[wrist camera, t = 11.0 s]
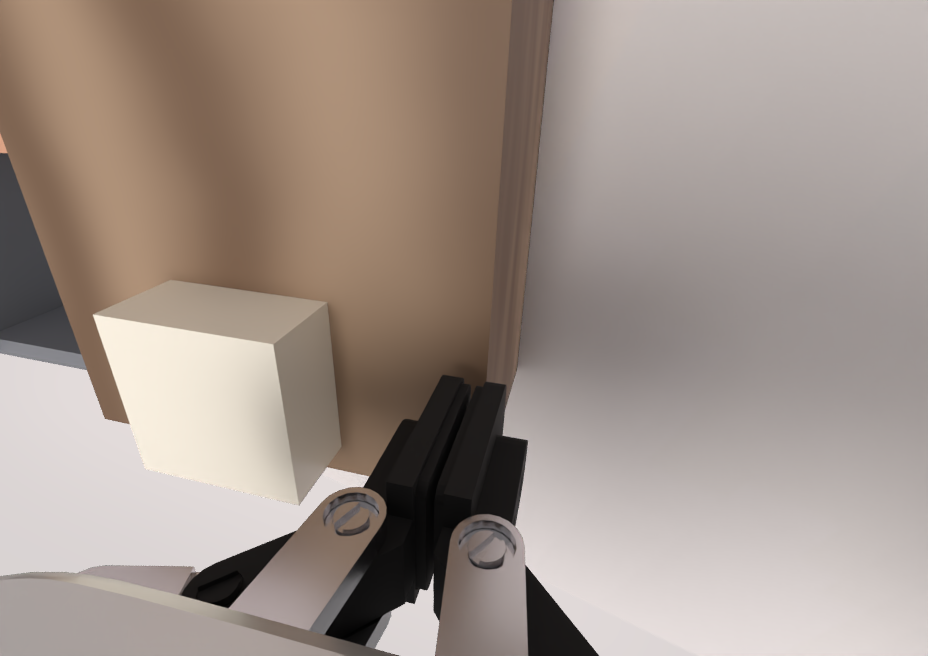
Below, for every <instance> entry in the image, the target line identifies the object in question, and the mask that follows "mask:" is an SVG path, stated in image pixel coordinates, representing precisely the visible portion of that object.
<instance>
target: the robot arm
mask: <svg viewBox="0 0 928 656" xmlns="http://www.w3.org/2000/svg"><path fill="white" fill-rule="evenodd" d="M506 389H507V386H506V385H505V384H499V383H493V382H485V383H484V386H483V387H482V386H476V388H475V390H474V393H473V395H472V398H471V385H470V384H464V378H461V377H455V376H448V375H442V376H441V378H440V380H439V382H438V384H437V386H436V388H435V390H434V391H433V393H432V395H431V397H430V399H429V401H428V403H427V405H426V407H425V409H424V410H423V412H422V414H421V416H420V418H419V420H418V421H416V420H411V419H403V420H402V422H401V423H400V425H399V426H398V428H397V430H396V432H395V433H394V435H393V437H392V439H391V440H390V442H389V444H388V446H387V447H386V449H385V451H384V452H383V454H382V456H381V458H380V459H379V461H378V463H377V465H376V466H375V468H374V470H373V472H372V473H371V475H370V477H369V478H368V480H367V482H366V484H365V485H364V487H363V488H362V487H352V488H346V489H343V490H339V491H337V492H335V493H333V494H332V495H329V496H328V497H327V498H326V499H325V500H324V501H323V502H322V503H321V504H320V505H319V506H318V507H317V508H316V509H315V511H314V512H313V513H312V514H311V515H310V516H309V517H308V519H307V520H306V521H305V522H304V523H303V524H302V525H301V526H300V528H299V529H298V530H297V531H294V532H292V533H289V534H287V535H284V536H282V537H280V538H277V539H275V540H272V541H270V542H267V543H265V544H262V545H260V546H257V547H255V548H252V549H250V550H247V551H245V552H242V553H240V554H237V555H235V556H232V557H230V558H227V559H225V560H222V561H220V562H218V563H215V564H213V565H212V566H209V567H208V568H206V569H204V570H202V571H201V572H196V571H195V568H194V567H184V566H183V567H182V566H113V565H111V566H110V565H105V566H97V567H92V568H89V569H86V570H84V571H81V572H79V573H68V572H30V573H21V574H14V575H6V576H0V656H398V655H395V654H391V653H387V652H384V651H380V650H376V649H375V647H376V645H377V643H378V642H379V640H380V638H381V636H382V634H383V632H384V630H385V629H386V627H387V625H388V623H389V620H390V617H391V611H392V610H394V609H396V608H398V607H400V606H401V605H403V604H405V602H409V603H413V604H415V601H416V598H417V595H418V593H419V590H420V589H423V590H428V588H429V585H430V582H431V579H432V576H433V573H434V613H435V614H436V616H437V618H438V620H439V630H438V637H437V645H436V652H435V656H599V655H598V654H597V653H596V651H595V650H594V649H593V648H592V646H591V645H590V644H589V643H588V642H587V640H586V639H585V638H584V637H583V635H582V634H581V633H580V632H579V630H578V629H577V628H576V627H575V626H574V624H573V623H572V622H571V620H570V619H569V618H568V617H567V616H566V615H565V613H564V612H563V611H562V610H561V608H560V607H559V606H558V604H557V603H556V602H555V601H554V599H553V598H552V597H551V596H550V595H549V593H548V592H547V591H546V590H545V588H544V587H543V586H542V585H541V583H540V582H539V581H538V580H537V578H536V577H535V576H534V575H533V574H532V572H531V571H530V570H529V569H528V567H527V566H526V565H525V547H524V542H523V537H522V536H521V534H520V532H519V531H518V529H517V528H516V527H515V525H516V519H517V514H518V508H519V502H520V497H521V490H522V484H523V477H524V470H525V462H526V454H527V445H528V440H523V439H517V438H511V437H506V436H502V435H503V423H504V412H505V401H506Z"/></svg>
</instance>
